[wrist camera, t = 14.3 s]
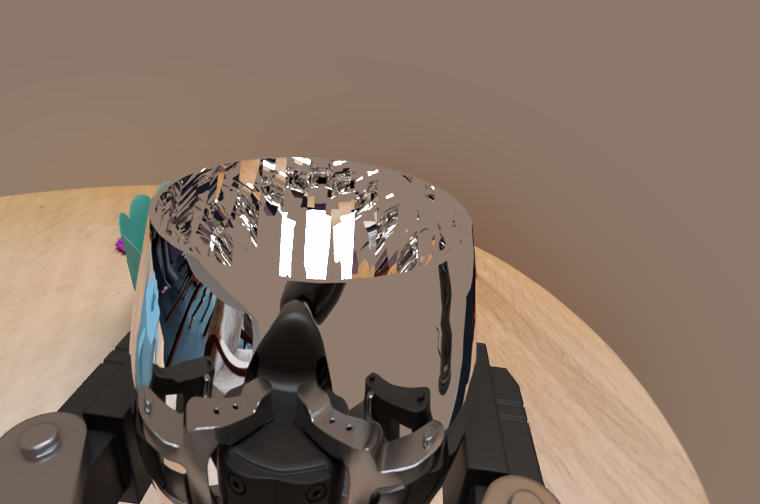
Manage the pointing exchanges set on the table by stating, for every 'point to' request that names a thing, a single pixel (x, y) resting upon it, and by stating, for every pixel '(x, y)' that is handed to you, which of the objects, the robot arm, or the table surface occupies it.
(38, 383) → the table surface
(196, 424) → the wineglass
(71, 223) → the table surface
